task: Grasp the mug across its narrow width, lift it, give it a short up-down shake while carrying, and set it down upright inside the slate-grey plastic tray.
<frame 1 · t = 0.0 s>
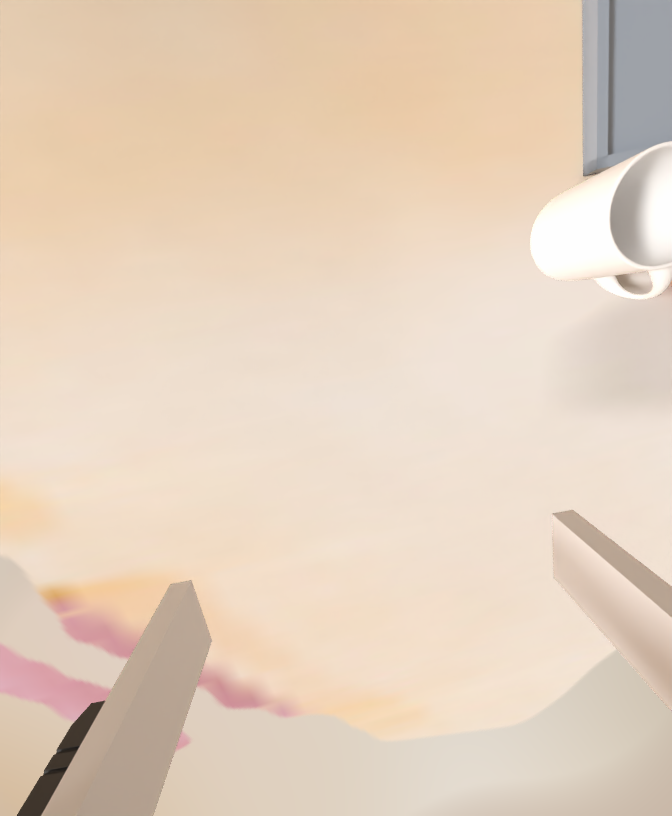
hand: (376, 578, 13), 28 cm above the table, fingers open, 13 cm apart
tray: (657, 59, 33), on the table
mug: (573, 252, 37), on the table
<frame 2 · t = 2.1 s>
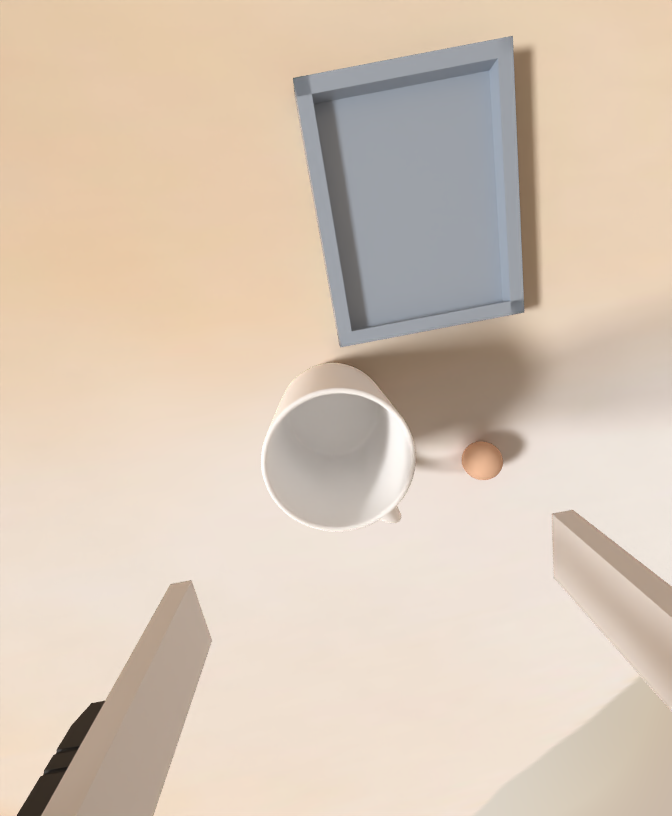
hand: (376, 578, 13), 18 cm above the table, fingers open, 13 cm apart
tray: (412, 212, 26), on the table
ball: (473, 453, 32), on the table
mug: (343, 426, 31), on the table
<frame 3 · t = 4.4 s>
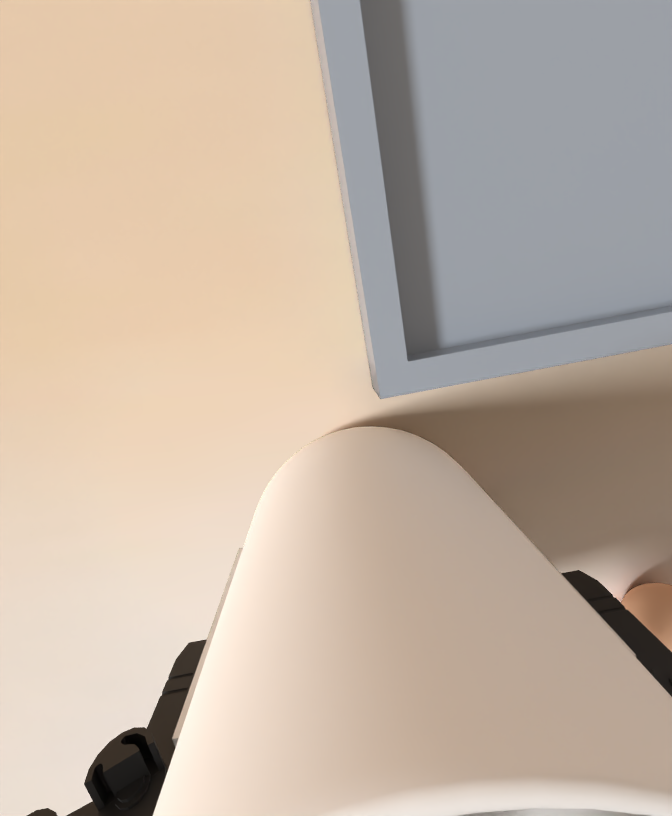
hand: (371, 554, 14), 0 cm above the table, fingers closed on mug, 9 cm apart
tray: (558, 69, 11), on the table
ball: (636, 596, 16), on the table
mug: (388, 548, 15), on the table, touching gripper
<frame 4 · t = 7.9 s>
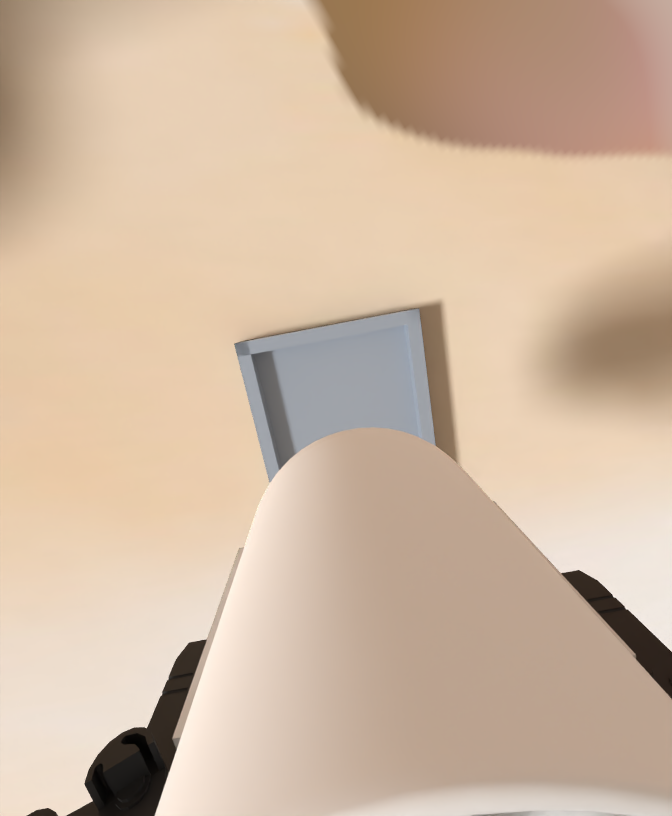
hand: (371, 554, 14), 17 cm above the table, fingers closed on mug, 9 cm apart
tray: (344, 425, 31), on the table
mug: (388, 548, 15), point 16 cm above the table, touching gripper
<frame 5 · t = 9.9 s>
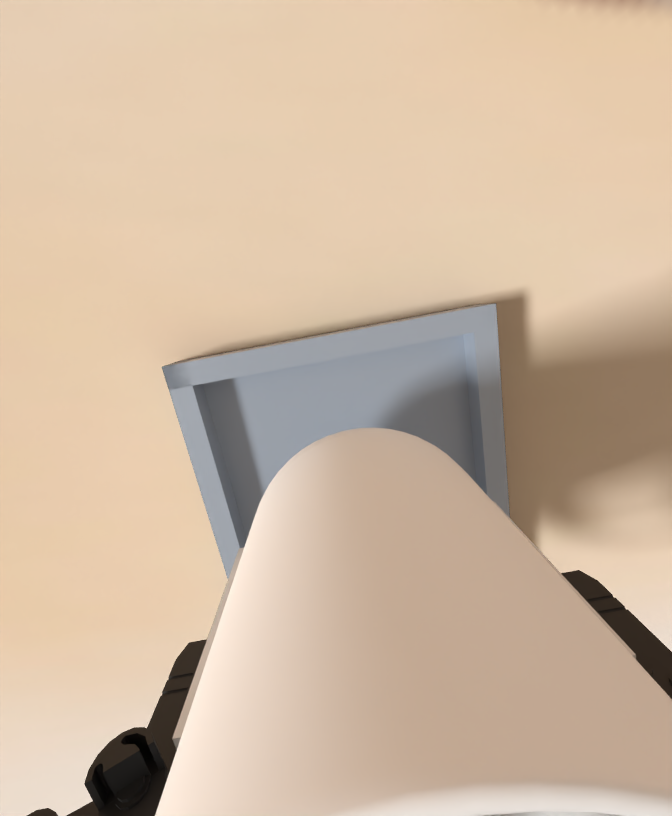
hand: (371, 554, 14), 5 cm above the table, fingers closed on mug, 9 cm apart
tray: (358, 496, 19), on the table
mug: (388, 549, 15), point 4 cm above the table, touching gripper
when the fingers open (2 cm above the table, at t = 11.3 s): mug drops 1 cm, resting on tray.
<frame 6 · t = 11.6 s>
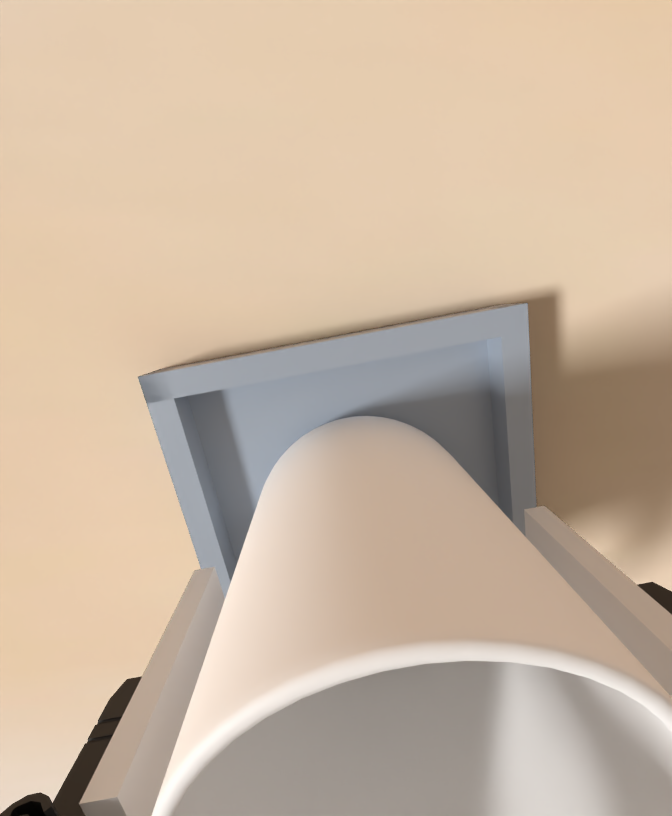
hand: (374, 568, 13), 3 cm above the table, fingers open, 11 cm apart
tray: (364, 521, 17), on the table
mug: (382, 529, 16), resting on tray
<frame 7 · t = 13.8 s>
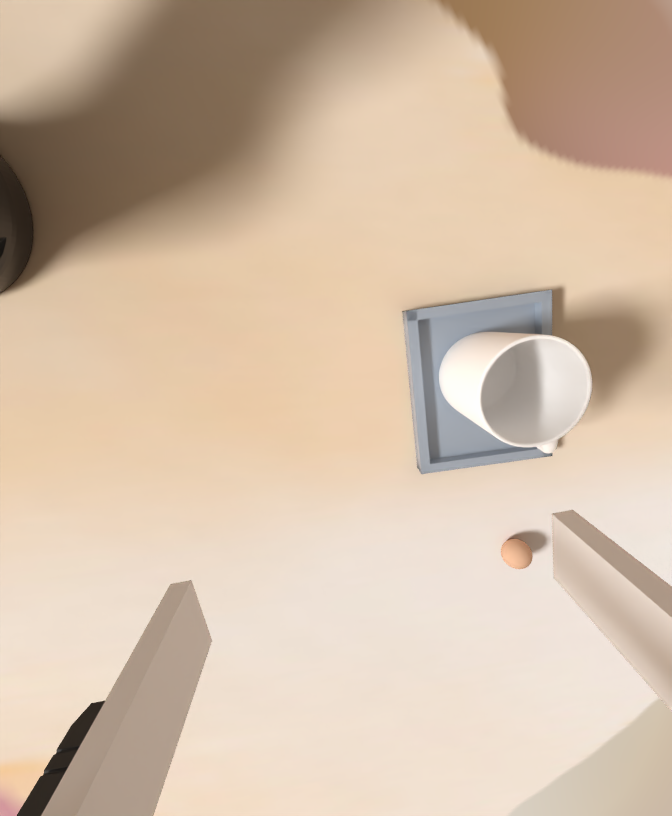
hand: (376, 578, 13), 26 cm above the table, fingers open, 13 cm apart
tray: (475, 384, 38), on the table
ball: (509, 545, 43), on the table
mug: (484, 386, 38), resting on tray
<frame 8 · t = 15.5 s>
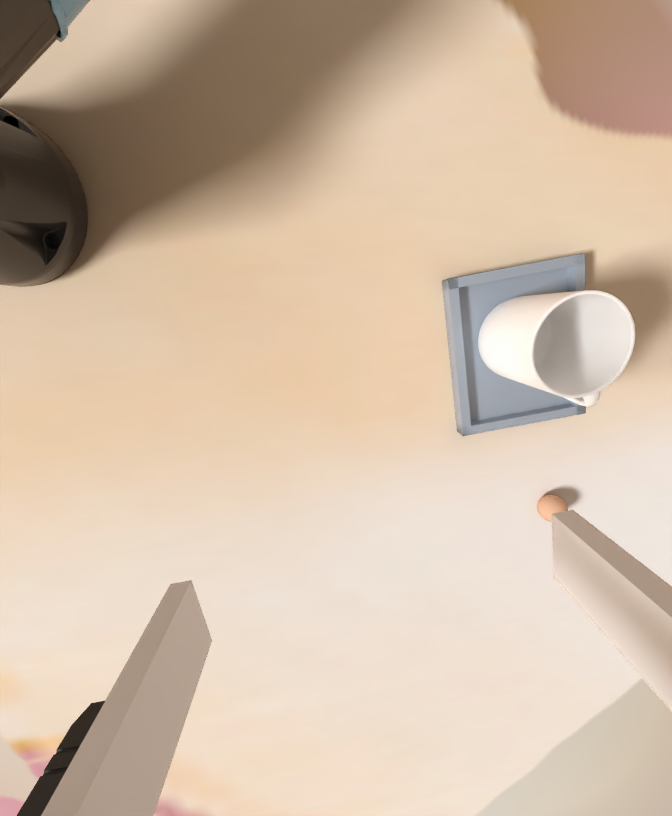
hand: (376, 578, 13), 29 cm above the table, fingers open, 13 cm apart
tray: (511, 348, 40), on the table
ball: (544, 501, 45), on the table
mug: (520, 350, 40), resting on tray
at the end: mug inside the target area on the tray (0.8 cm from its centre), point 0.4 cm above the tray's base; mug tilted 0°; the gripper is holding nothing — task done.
